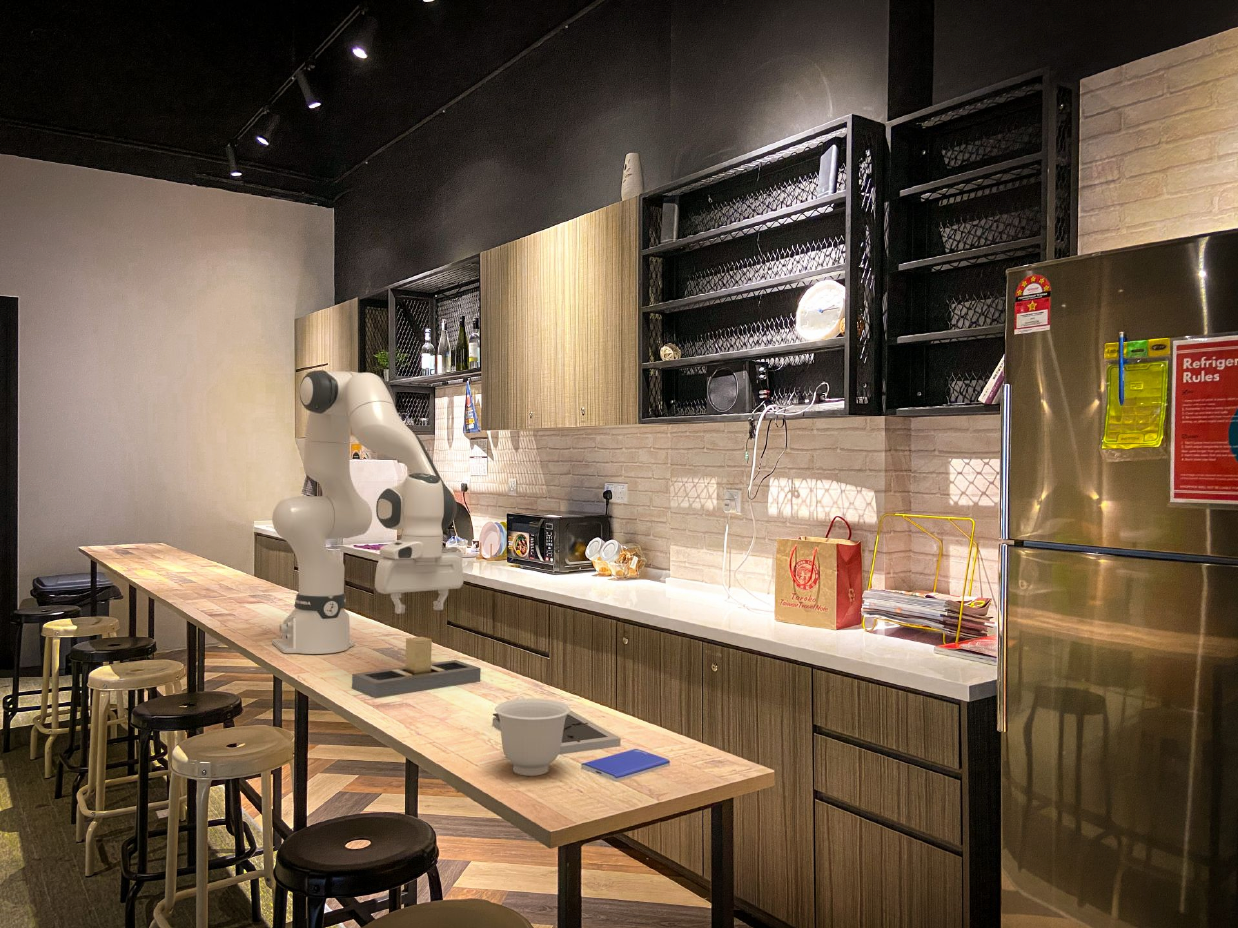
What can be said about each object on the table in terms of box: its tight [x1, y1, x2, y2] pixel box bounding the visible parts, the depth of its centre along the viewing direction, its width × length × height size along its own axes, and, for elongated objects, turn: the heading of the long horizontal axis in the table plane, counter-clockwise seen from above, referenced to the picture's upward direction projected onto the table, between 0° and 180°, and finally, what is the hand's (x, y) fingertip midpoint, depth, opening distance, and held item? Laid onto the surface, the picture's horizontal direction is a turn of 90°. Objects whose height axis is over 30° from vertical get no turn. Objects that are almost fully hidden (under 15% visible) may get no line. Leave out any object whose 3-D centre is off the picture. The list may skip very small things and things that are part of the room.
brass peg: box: [404, 636, 433, 676], centre depth 204 cm, size 4×4×10 cm
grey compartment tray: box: [351, 659, 482, 699], centre depth 204 cm, size 10×26×3 cm, turn 132°
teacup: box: [494, 696, 571, 777], centre depth 150 cm, size 12×15×10 cm
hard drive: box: [580, 748, 671, 782], centre depth 152 cm, size 2×8×12 cm
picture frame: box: [492, 709, 621, 756], centre depth 169 cm, size 16×3×21 cm
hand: (419, 611), depth 204 cm, fingers open, 8 cm apart
